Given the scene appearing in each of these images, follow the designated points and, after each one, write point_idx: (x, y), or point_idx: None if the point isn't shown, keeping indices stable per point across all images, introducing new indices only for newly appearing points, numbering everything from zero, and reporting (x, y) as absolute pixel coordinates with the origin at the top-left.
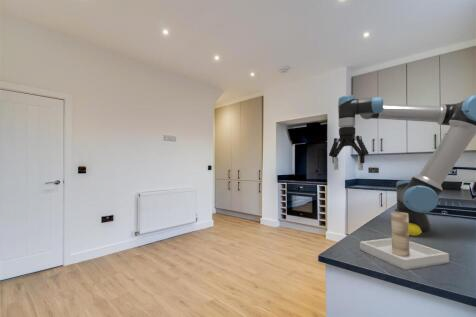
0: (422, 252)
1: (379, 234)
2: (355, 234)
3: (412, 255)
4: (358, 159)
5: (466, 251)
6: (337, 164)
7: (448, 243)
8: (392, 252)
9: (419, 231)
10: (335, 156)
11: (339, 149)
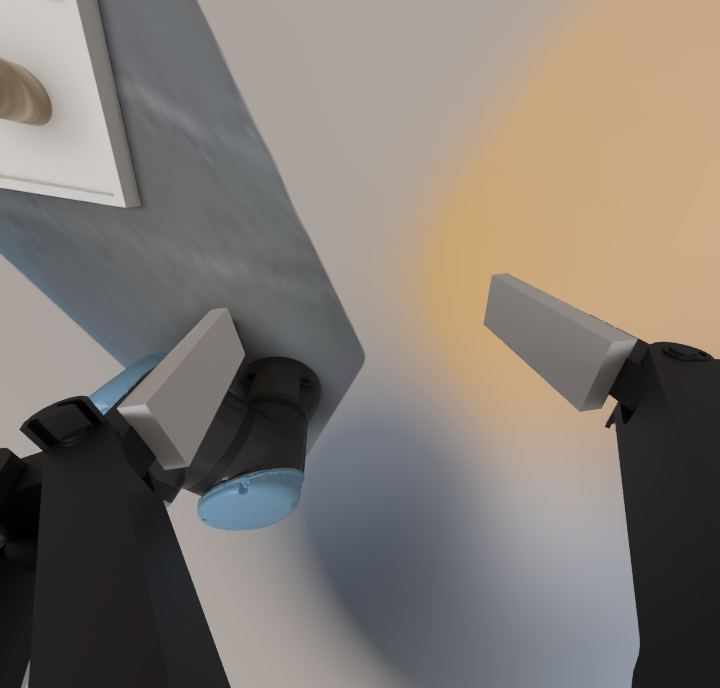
0: (37, 181)
1: (252, 259)
2: (275, 183)
3: (8, 121)
4: (164, 373)
5: (77, 314)
6: (516, 339)
7: (142, 339)
8: (24, 69)
9: None
10: (627, 390)
11: (672, 521)
